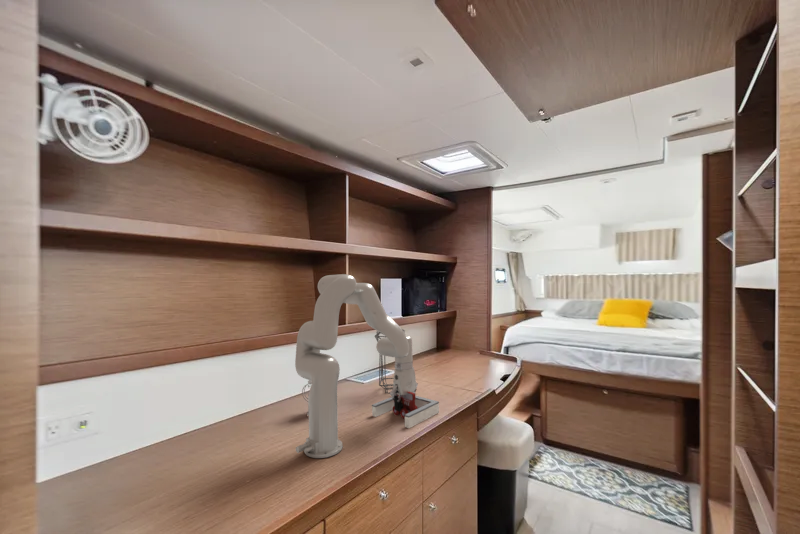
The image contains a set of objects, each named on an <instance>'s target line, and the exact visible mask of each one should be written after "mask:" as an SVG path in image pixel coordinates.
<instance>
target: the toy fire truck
mask: <svg viewBox="0 0 800 534" xmlns="http://www.w3.org/2000/svg"><path fill="white" fill-rule="evenodd" d="M398 396H399V395H397V397H398ZM415 396H416V392H415V393H412V392H408V394H407V395H404V396H401V399H400V401H401V411H396V410H395V402H394V406H393V410H392V413H393V415H394V416H400V417H401V419H403V420H405V414H407V413H409V412H412V411H414V410H416V409H418V407H417V406H416V405H415V399H416V397H415Z"/></svg>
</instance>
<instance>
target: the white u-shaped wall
mask: <svg viewBox="0 0 800 534" xmlns="http://www.w3.org/2000/svg"><path fill="white" fill-rule="evenodd" d="M415 397H416V399H415V405H416V406H417V407H418V409H416V410H414V411H412V412H409V413H407V414H405V419H404V427H405V428H407V429H410V428H412V427H414V426H416V425H419V424H420V423H423V422H424V421H426V420H427V419H429V418H432V417H433V416H436V415H438V414H439V413H440V404H439V403H440V401H437V400H436V399H435V400H434V399H431V398H426V397H423V396H422V397H421V396H419V395H415ZM393 406H394V400H393V398H392V397H388V398H385V399H383V400H380V401H378V402H375V403H372V405H371V416H372V417H374V418H376V417H379V416H382V415H384V414H385V413H388V412H391V411H393Z"/></svg>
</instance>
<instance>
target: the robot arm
mask: <svg viewBox="0 0 800 534" xmlns="http://www.w3.org/2000/svg"><path fill="white" fill-rule="evenodd" d="M317 290H318V293H319V296H318V298H317V300H316V301H315V305H314V311H313V318H312V319H313V320H309V321H306V322H304V323H303V324H302V325H301V326H300V328H299V330H298V332H297V337H296V344H295V345H296V346H295V347H296V348H295V349H296V350H295V360H294V361H295V364H294V366H295V371H296V373H297V375H298V376H299V377H301V378H303V379H306V380H307V381H309V380H311V381H312V384H310V387H309V390H310V391H308V392H309V393H308V394H309V397H307V398H308V399H307V401H308V402H307V403H308V404H309V417H308V437H306V438H305V442H304V443H302V444H300V445H298V446H296V447H295V452H296V453H297V454H299V453H301V452H304V455H306V456H307V457H309V458H313V459H324V458H330V457H333V456H335V455H337V454H339V453H340V452H341V451H342V449H343V444H344V443H343V441H342V440H340V439H339V436H338V435H339V427H338V425H339V423H338V421H339V420H338V419H339V418H338V383H339V377H340V370H341V369H340V364H339V361H338V360H337V359H336V358H335V357H334V356H333V355H330V354H326V353H323V352H321V351H329V350H332V349H334V347H335V346H336V344H337V342H338V336H339V335H338V332H339V317H340V316H339V315H340V310H341V306H342V305H343V304H347V305H357V307H358V309H359V310H360V312H361V315H362V317H363V318H364V320H365V322H366V324H367V325H368V326H369V327H371V328H372V329H373V330H376V332H377V331H378V332H380V334H381V333H382V336H386V337H381V339H379V340H378V342H376V351H377V353H378V354H379V355H380V354H381V355H382V356H383V357H384V356H385V357H388V358H389V357H390V358H394V371H393V378H394V379H393V383H392V384H393V386H392V387H393V388H391V390H390V393H389V395H390V396H391V397H392V398H393V400H394V402H395V410H396V411H401V401H400V399H401V396H404V395H407V394H408V392H412V393H415V394H416V392H417V390H418V389H417V388H418V384H419V383H417V378H416V377H417V376H416V373H415V371H416V370H415V368H414V363H413V361H414V360H413V338H412V337H411V336H410V335H407V334H406V333H405V334H404V331H403V330H404V329H403V328H401V326H400V325H399V324H398V323H397V322H396V321H395V320H394V319H393V318H392V317H391V316H389V315H388V314H387V312H386V311H385V308H384V307H383V303H382V302H381V300H380V298H379V296H378V294H377V291H376V289H375V287H374V286H373V285H372V284H370V283H368V282H357V279H356V278H355V277H354V276H353V275H350V274H347V273H346V274H345V273H342V274H338V273H337V274H329V275H325V276H323V277H321V278H320V279H319V281H318V283H317ZM402 329H403V330H402ZM397 395H399V396H398V397H397ZM308 404H307V405H308Z"/></svg>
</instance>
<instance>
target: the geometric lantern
mask: <svg viewBox="0 0 800 534" xmlns="http://www.w3.org/2000/svg"><path fill="white" fill-rule="evenodd" d="M401 329H402V330H403V332H404V334H405V335H406V333H405V332H406V330H405V329H403V328H401ZM380 334H382V333H380V332H379V331H377V330H376V334H375V335H374V338H375V339H376V343H378V341H379V340H380V339H382V338H384V337H386V336H385V335H383V334H382V335H380ZM383 358H384V362H383ZM378 362H379V363H378V364H379V367H378V368H379V369H378V370H379V371H378V375H379V377H378V381H379V382H378V385H379V387H381V388H382V389H384V391H385V394H390V392H391V389H393V383H389V384H388V383H387V380H394V377H387V375H386V370H387V369H386V356H384V355H381V354H380V353H379V361H378ZM383 364H384V365H383ZM388 387H391V388H388ZM388 390H390V392H389V391H388Z"/></svg>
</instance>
